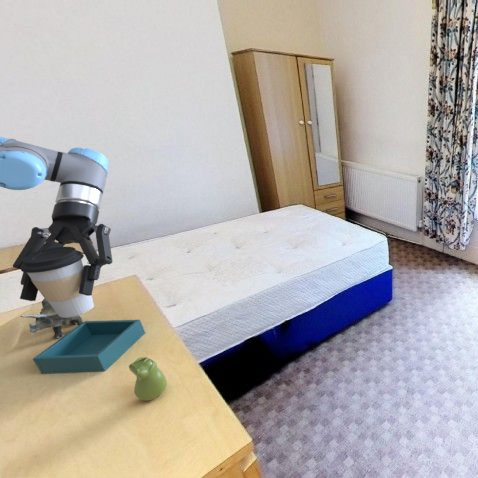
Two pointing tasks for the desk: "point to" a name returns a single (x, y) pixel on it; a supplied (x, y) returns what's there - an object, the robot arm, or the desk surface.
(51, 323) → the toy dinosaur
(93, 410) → the desk surface
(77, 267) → the coffee cup
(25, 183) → the robot arm
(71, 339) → the tray
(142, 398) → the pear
